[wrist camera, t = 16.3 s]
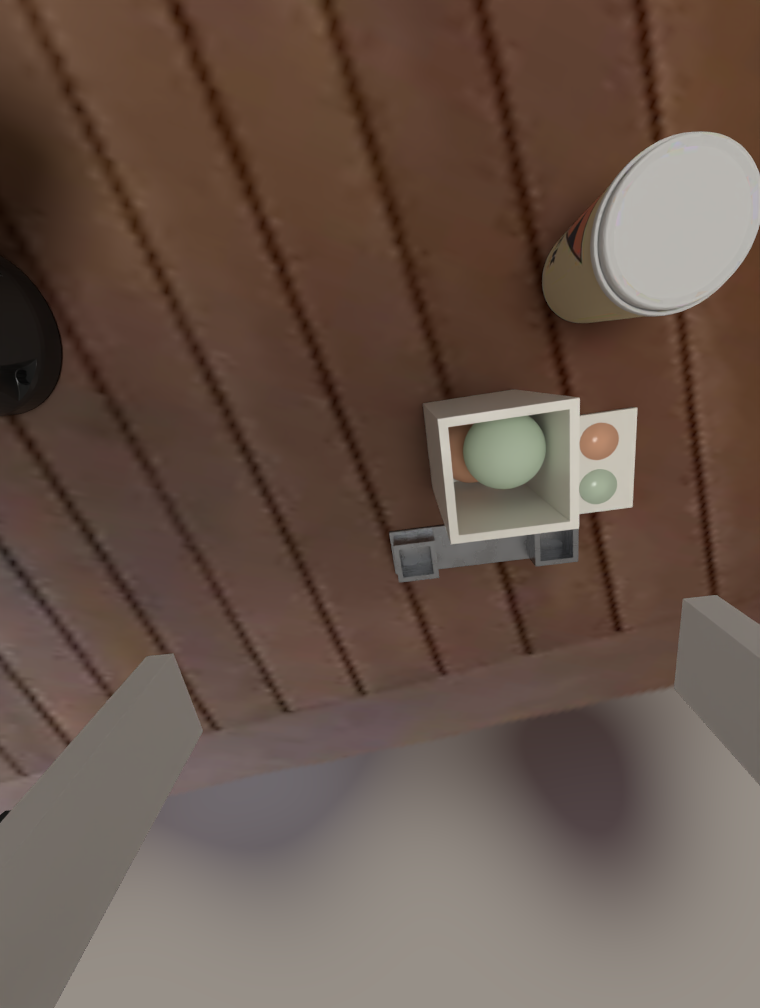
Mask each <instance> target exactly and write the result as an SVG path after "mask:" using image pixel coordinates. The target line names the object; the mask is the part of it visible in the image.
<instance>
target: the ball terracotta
mask: <svg viewBox="0 0 760 1008" xmlns="http://www.w3.org/2000/svg"><path fill="white" fill-rule="evenodd" d="M473 424H474V423H473ZM473 424H467V425H460V426H453V427H448V431H449V441H450V451H451V461H452V472H453V479H455V480H458V481H461V482H465V483H475V482H479V481H477V480H476V479H475V478H474V477H473V476H472V475H471V474H470V472H469V471H468V469H467V467H466V464H465V461H464V457H463V445H464V441H465V438H466V435H467V433H468V431H469V429H470V428H471V427H472V425H473Z"/></svg>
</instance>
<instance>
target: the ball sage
mask: <svg viewBox="0 0 760 1008" xmlns="http://www.w3.org/2000/svg"><path fill="white" fill-rule="evenodd" d="M545 454H546V441H545V437H544V434H543V432H542V430H541V428H540V427H539V425H538V424H537V423H536V422H535V421H534V420H533V419H532V418H531V417H529V416H528V415H527V416H521V417H514V418H507V419H500V420H494V421H487V422H480V423H474V424H473V425H472V427H471V428H470V429H469V431H468V433H467V435H466V438H465V441H464V445H463V457H464V461H465V464H466V467H467V469H468V471H469V472H470V474H471V475H472V476H473V477H474V478H475V479H476V480H477V481H479V482H480V483H482V484H483V485H485V486H488V487H491V488H495V489H511V488H515V487H518V486H521V485H523V484H525V483H526V482H528V481H529V480H530V479H532V478H533V477H534V476H535V475H536V474H537V472H538V471H539V470H540V468H541V466H542V464H543V462H544V459H545Z"/></svg>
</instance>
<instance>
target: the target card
mask: <svg viewBox="0 0 760 1008" xmlns="http://www.w3.org/2000/svg"><path fill="white" fill-rule="evenodd" d="M636 426H637V408H636V407H631V408H625V409H618V410H611V411H604V412H597V413H591V414H584V415H580V449H579V514H583V513H591V512H599V511H606V510H614V509H622V508H630V507H632V506H633V486H634V466H635V446H636Z"/></svg>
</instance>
